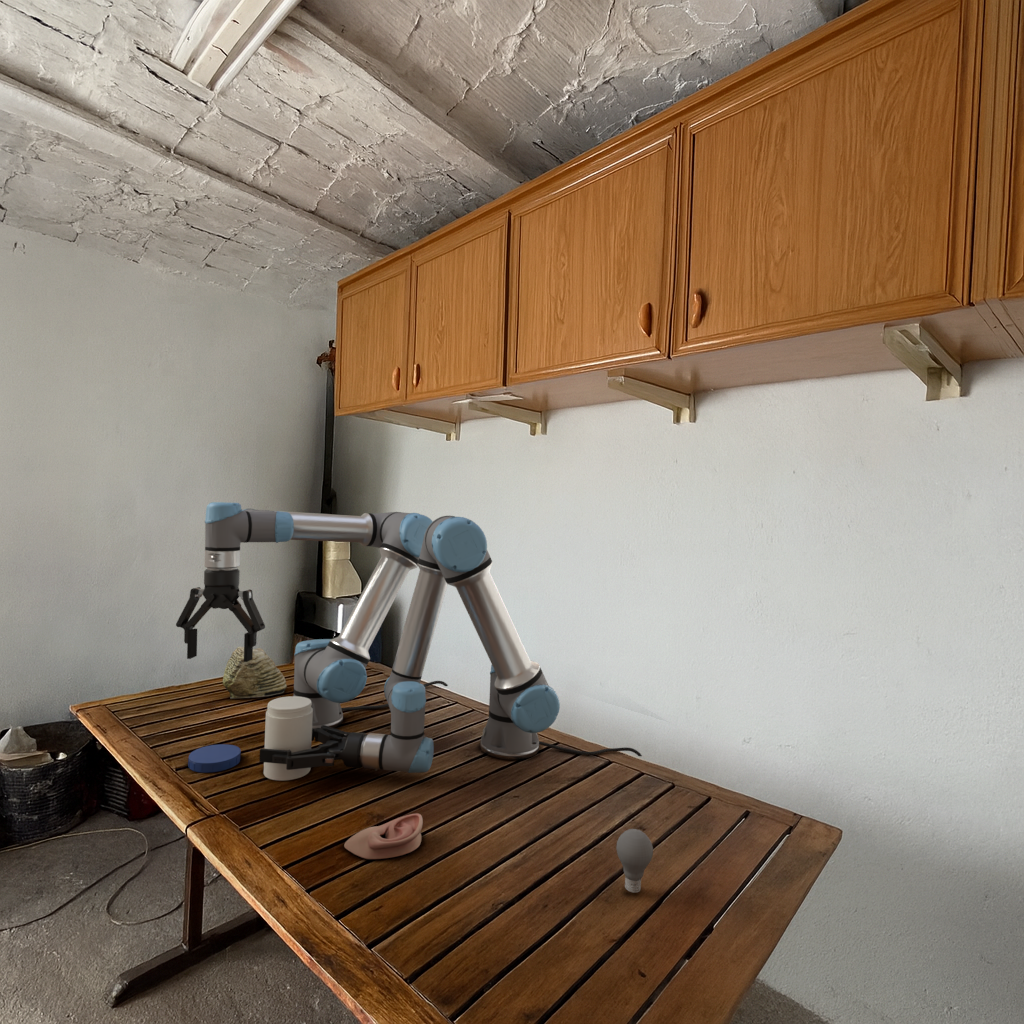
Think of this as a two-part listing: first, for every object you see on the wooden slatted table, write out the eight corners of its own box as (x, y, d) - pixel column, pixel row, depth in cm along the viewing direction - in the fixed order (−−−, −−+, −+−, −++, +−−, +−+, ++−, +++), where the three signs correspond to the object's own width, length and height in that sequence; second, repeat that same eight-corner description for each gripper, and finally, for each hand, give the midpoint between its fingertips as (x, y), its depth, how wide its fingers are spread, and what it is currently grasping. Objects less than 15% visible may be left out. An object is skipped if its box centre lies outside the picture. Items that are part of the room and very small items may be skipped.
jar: (279, 759, 151) (281, 693, 151) (318, 764, 150) (321, 698, 149) (254, 777, 141) (256, 707, 141) (296, 783, 140) (299, 711, 139)
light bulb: (610, 879, 108) (613, 822, 108) (644, 879, 109) (647, 822, 109) (619, 902, 102) (622, 840, 102) (655, 901, 103) (658, 840, 103)
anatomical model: (336, 832, 112) (364, 802, 124) (336, 854, 112) (363, 822, 124) (407, 843, 110) (429, 812, 121) (406, 866, 110) (428, 832, 121)
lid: (198, 753, 153) (199, 744, 153) (246, 752, 154) (247, 744, 154) (180, 772, 142) (180, 763, 142) (232, 772, 143) (232, 763, 143)
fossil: (218, 695, 195) (220, 647, 195) (278, 685, 208) (279, 640, 207) (228, 703, 189) (230, 653, 188) (289, 692, 201) (290, 645, 201)
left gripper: (160, 567, 145) (158, 660, 145) (266, 572, 143) (264, 665, 143) (180, 564, 152) (178, 652, 153) (281, 568, 150) (278, 657, 151)
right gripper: (345, 791, 132) (246, 783, 133) (380, 745, 156) (296, 739, 158) (346, 755, 131) (248, 748, 133) (381, 715, 156) (297, 709, 158)
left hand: (219, 659), depth 148 cm, fingers open, 13 cm apart
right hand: (274, 743), depth 146 cm, fingers open, 13 cm apart
